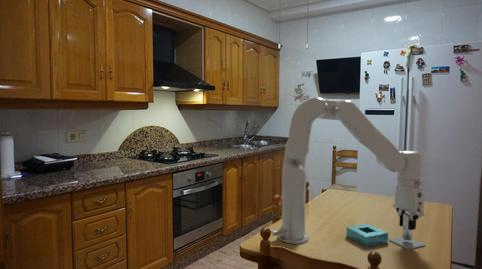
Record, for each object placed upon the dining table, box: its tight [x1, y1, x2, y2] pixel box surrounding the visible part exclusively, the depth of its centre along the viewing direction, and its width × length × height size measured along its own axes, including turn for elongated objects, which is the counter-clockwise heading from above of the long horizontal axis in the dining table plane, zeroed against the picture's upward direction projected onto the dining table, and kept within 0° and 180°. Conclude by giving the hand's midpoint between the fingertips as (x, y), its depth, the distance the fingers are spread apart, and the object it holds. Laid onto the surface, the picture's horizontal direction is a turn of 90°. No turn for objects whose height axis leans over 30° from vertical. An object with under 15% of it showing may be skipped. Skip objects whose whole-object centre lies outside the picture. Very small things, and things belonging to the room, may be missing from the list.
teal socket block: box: [345, 223, 389, 248], centre depth 127 cm, size 11×11×4 cm
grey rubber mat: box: [388, 236, 426, 251], centre depth 124 cm, size 9×9×1 cm
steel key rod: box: [401, 212, 413, 240], centre depth 123 cm, size 4×4×10 cm
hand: (407, 227), depth 123 cm, fingers closed on steel key rod, 3 cm apart
